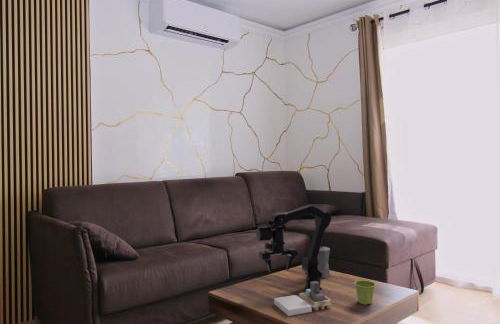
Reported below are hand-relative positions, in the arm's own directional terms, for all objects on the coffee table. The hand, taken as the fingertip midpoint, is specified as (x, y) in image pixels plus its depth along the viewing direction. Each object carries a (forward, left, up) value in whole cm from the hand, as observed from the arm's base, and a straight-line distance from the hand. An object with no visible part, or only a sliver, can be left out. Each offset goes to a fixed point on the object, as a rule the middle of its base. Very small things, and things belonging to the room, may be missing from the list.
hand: (278, 271), depth 198 cm
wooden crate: (-9, +19, -11) cm, 24 cm away
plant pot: (-31, +27, -11) cm, 42 cm away
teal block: (-9, +16, -9) cm, 20 cm away
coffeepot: (-33, -15, -11) cm, 38 cm away
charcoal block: (-9, +23, -9) cm, 26 cm away
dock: (+2, +19, -11) cm, 22 cm away
